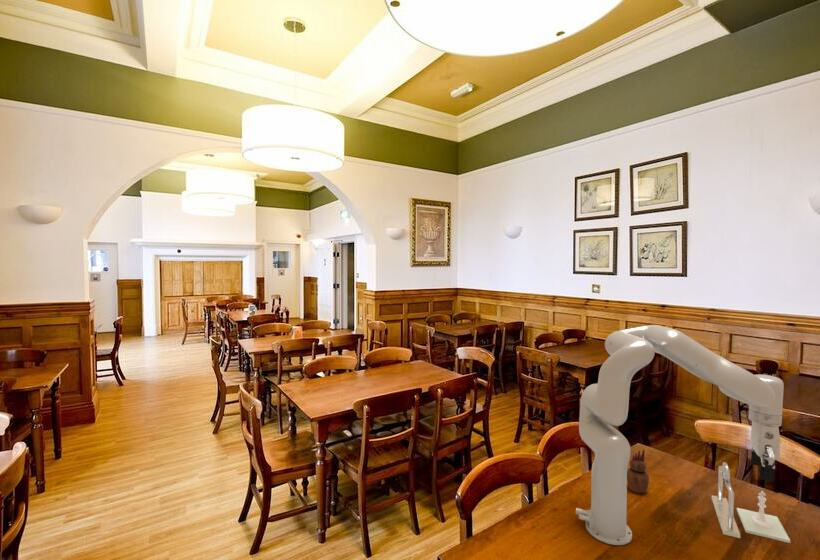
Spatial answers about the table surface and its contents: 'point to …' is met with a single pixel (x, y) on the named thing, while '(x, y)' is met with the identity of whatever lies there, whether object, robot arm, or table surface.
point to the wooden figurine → (638, 474)
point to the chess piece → (761, 514)
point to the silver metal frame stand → (725, 504)
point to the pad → (773, 533)
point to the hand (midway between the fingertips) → (761, 472)
